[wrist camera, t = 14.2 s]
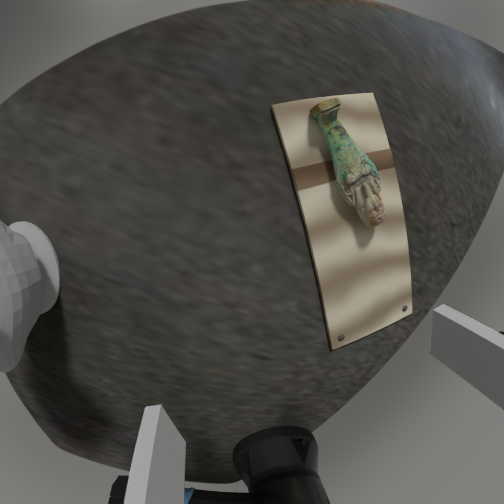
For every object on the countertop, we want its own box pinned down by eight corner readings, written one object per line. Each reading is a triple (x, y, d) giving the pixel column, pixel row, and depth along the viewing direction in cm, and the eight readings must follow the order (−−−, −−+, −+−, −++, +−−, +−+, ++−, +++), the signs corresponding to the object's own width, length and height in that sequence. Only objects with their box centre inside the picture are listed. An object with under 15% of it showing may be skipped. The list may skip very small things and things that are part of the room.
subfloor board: (409, 311, 36) (412, 313, 36) (330, 347, 36) (332, 350, 35) (369, 94, 29) (373, 92, 28) (270, 107, 28) (272, 104, 27)
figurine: (343, 101, 28) (358, 92, 24) (381, 217, 32) (399, 220, 28) (304, 109, 28) (316, 100, 24) (346, 231, 31) (362, 236, 28)
